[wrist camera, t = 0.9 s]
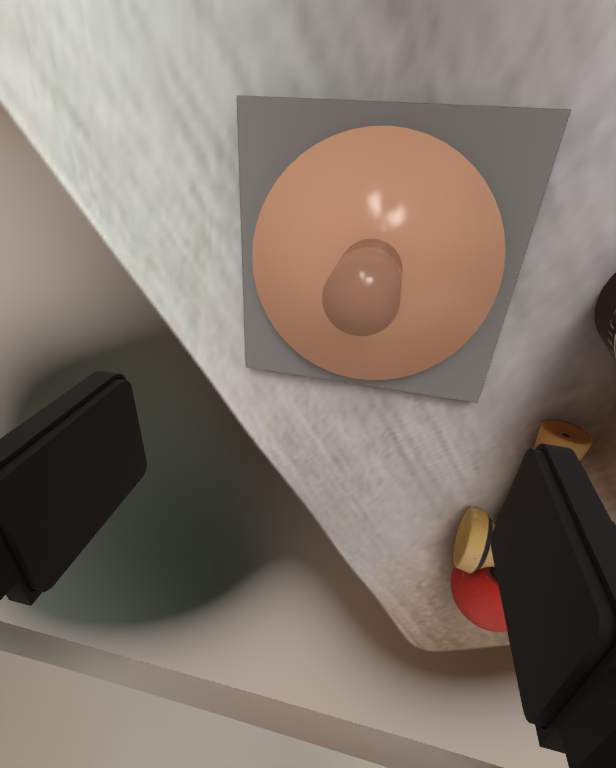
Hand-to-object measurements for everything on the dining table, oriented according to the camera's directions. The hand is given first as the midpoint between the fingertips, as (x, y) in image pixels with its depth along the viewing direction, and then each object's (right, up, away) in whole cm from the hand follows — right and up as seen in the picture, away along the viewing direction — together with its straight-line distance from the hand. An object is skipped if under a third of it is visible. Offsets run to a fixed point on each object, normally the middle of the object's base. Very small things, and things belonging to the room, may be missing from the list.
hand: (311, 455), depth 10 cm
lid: (+4, +9, +14) cm, 17 cm away
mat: (+4, +9, +15) cm, 18 cm away
